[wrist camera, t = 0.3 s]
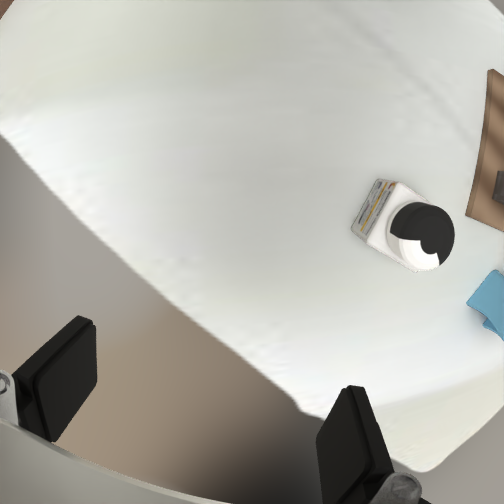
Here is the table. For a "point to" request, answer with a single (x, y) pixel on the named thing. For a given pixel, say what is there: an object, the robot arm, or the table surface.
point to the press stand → (490, 159)
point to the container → (405, 226)
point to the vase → (491, 302)
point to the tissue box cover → (4, 6)
